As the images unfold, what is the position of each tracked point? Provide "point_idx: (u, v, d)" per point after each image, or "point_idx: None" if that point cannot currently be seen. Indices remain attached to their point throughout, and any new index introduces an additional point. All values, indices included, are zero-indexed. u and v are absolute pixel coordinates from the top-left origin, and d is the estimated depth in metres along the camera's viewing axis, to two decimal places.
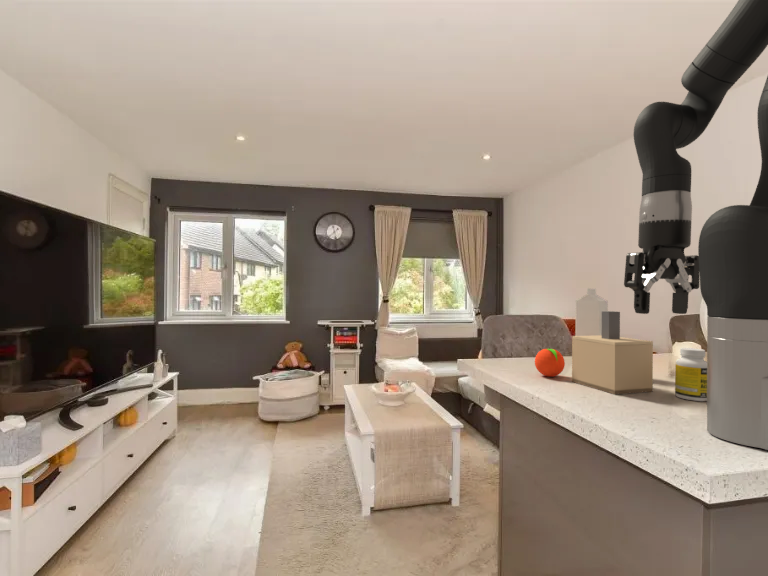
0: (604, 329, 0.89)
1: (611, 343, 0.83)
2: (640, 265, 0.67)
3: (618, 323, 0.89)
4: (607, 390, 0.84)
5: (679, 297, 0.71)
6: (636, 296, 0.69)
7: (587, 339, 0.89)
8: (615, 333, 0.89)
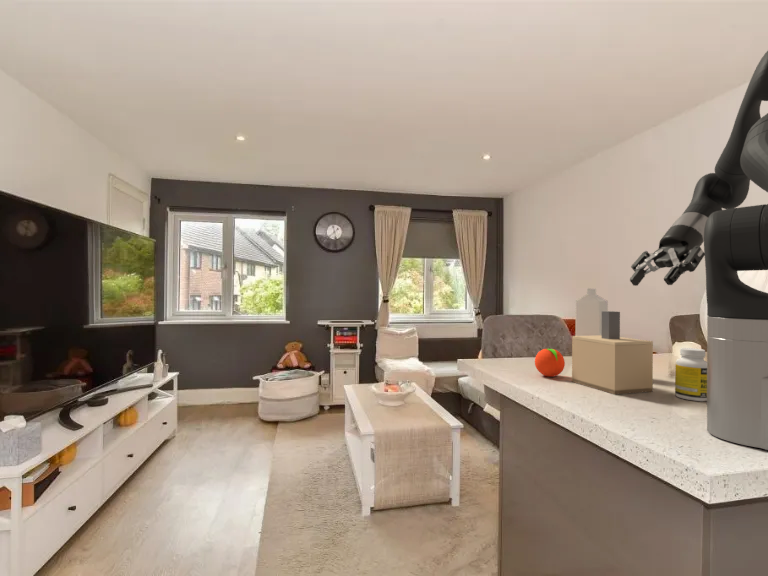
0: (604, 329, 0.89)
1: (611, 343, 0.83)
2: None
3: (618, 323, 0.89)
4: (607, 390, 0.84)
5: (641, 275, 0.97)
6: (677, 272, 0.88)
7: (587, 339, 0.89)
8: (615, 333, 0.89)
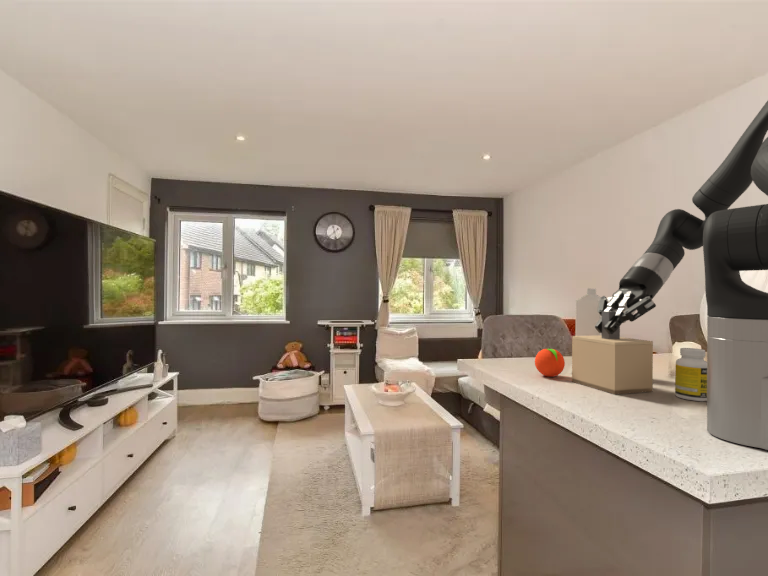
0: (604, 329, 0.89)
1: (611, 343, 0.83)
2: None
3: None
4: (607, 390, 0.84)
5: None
6: (618, 321, 0.87)
7: (587, 339, 0.89)
8: (615, 333, 0.89)
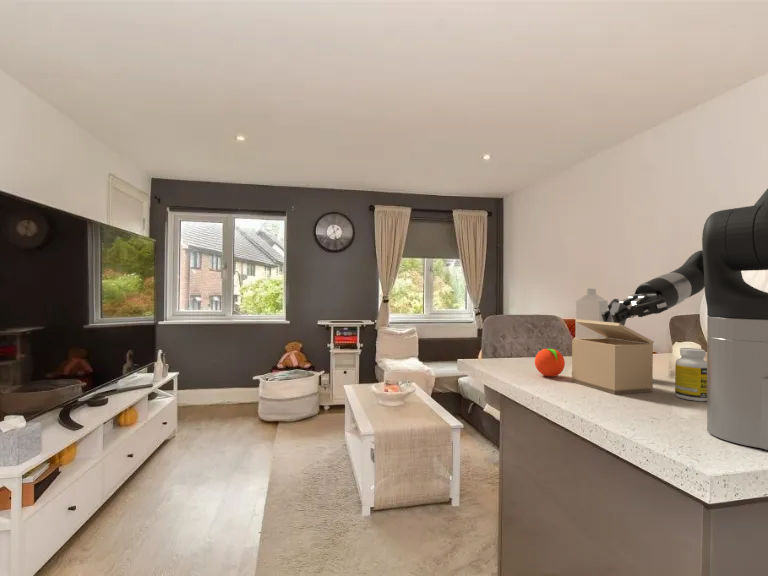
0: (610, 318, 0.90)
1: (615, 324, 0.83)
2: None
3: None
4: (607, 390, 0.84)
5: None
6: (627, 312, 0.88)
7: (591, 321, 0.90)
8: None
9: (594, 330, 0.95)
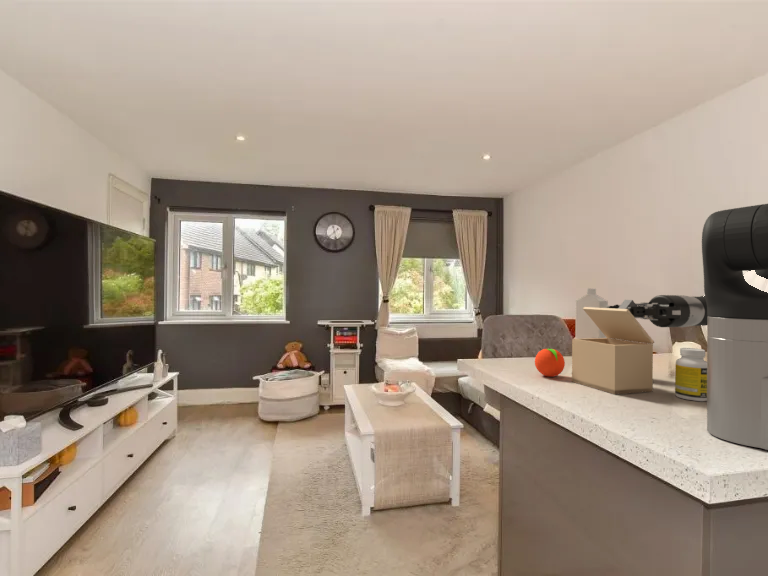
0: None
1: (623, 310, 0.84)
2: (670, 318, 0.87)
3: None
4: (607, 390, 0.84)
5: None
6: (643, 310, 0.87)
7: (599, 308, 0.90)
8: None
9: (597, 324, 0.95)
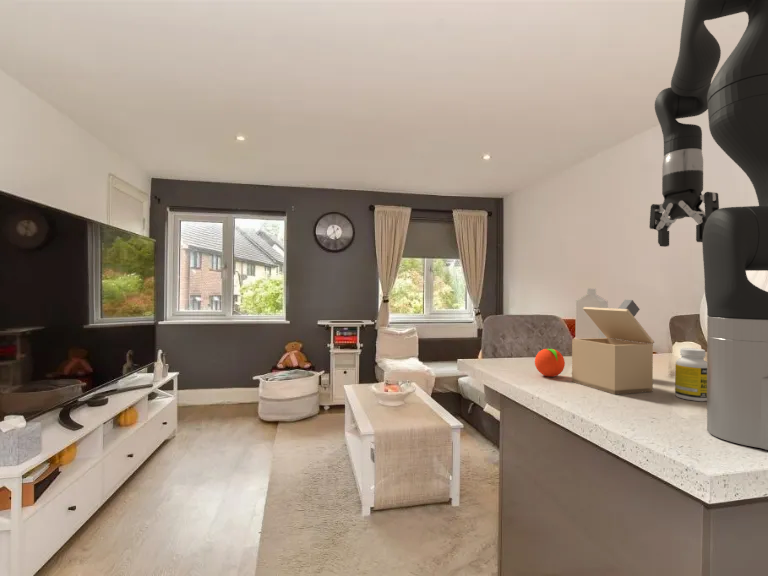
0: None
1: (623, 310, 0.84)
2: None
3: None
4: (607, 390, 0.84)
5: (666, 234, 0.95)
6: None
7: (599, 308, 0.90)
8: None
9: (597, 324, 0.95)
